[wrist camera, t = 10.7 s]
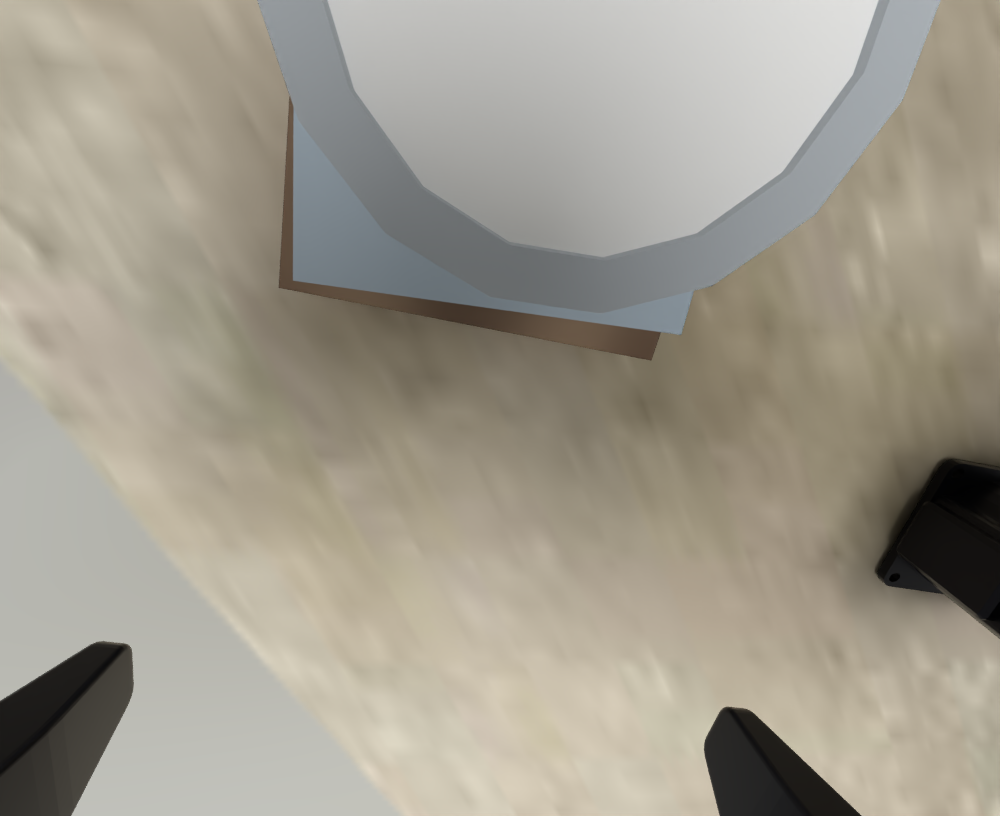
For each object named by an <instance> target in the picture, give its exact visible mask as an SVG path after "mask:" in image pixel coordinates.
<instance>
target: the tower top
mask: <svg viewBox="0 0 1000 816" xmlns="http://www.w3.org/2000/svg"><path fill="white" fill-rule="evenodd" d="M293 281H299V282H307V283H314V284H321V285H328V286H335V287H342V288H349V289H357V290H364V291H371V292H378V293H385V294H392V295H399V296H407V297H414V298H421V299H428V300H435V301H442V302H449V303H457V304H464V305H471V306H478V307H485V308H492V309H500V310H507V311H514V312H521V313H528V314H535V315H542V316H550V317H557V318H564V319H571V320H578V321H585V322H592V323H600V324H607V325H614V326H621V327H628V328H635V329H642V330H650V331H657V332H664V333H671V334H678V335H681V334H682V330H683V327H684V323H685V320H686V316H687V313H688V309H689V306H690V302H691V299H692V295H693V292H694V291H690V292H686V293H682V294H678V295H674V296H670V297H666V298H662V299H658V300H654V301H650V302H646V303H642V304H638V305H634V306H630V307H626V308H622V309H618V310H614V311H610V312H606V313H602V314H599V313H592V312H586V311H579V310H572V309H566V308H559V307H553V306H546V305H539V304H533V303H526V302H520V301H513V300H506V299H500V298H493V297H489V296H487V295H486V294H484V293H482V292H481V291H479V290H477V289H476V288H474V287H473V286H471V285H469V284H468V283H466V282H464V281H463V280H461V279H459V278H458V277H456V276H454V275H453V274H451V273H450V272H448V271H446V270H445V269H443V268H441V267H440V266H438V265H436V264H435V263H433V262H432V261H430V260H428V259H427V258H425V257H423V256H422V255H420V254H418V253H417V252H415V251H413V250H412V249H410V248H409V247H407V246H405V245H404V244H402V243H400V242H399V241H397V240H395V239H394V238H392V237H390V236H389V235H387V234H386V233H385V232H384V231H383V230H382V228H381V227H380V226H379V224H378V223H377V222H376V221H375V219H374V218H373V217H372V215H371V214H370V213H369V211H368V210H367V209H366V208H365V206H364V205H363V204H362V202H361V201H360V200H359V199H358V197H357V196H356V195H355V193H354V192H353V191H352V189H351V188H350V187H349V186H348V184H347V183H346V182H345V180H344V179H343V178H342V176H341V175H340V174H339V173H338V171H337V170H336V169H335V167H334V166H333V165H332V164H331V162H330V161H329V160H328V158H327V157H326V156H325V154H324V153H323V152H322V151H321V149H320V148H319V147H318V145H317V144H316V143H315V142H314V140H313V139H312V138H311V136H310V135H309V134H308V132H307V131H306V130H305V129H304V127H303V126H302V125H301V123H300V122H299V121H298V118H297V115H296V112H295V109H294V121H293Z"/></svg>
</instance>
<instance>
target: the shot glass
mask: <svg viewBox="0 0 1000 816" xmlns="http://www.w3.org/2000/svg"><path fill="white" fill-rule="evenodd" d="M257 1H258V4H259V6H260V9H261V12H262V15H263V18H264V21H265V24H266V27H267V30H268V33H269V36H270V39H271V42H272V45H273V48H274V51H275V53H276V56H277V59H278V62H279V65H280V68H281V71H282V74H283V77H284V80H285V83H286V86H287V89H288V92H289V95H290V98H291V100H292V103H293V106H294V109H295V112H296V115H297V118H298V121H299V122H300V123H301V125H302V126H303V127H304V129H305V130H306V131H307V132H308V134H309V135H310V136H311V138H312V139H313V140H314V142H315V143H316V144H317V145H318V147H319V148H320V149H321V151H322V152H323V153H324V154H325V156H326V157H327V158H328V160H329V161H330V162H331V164H332V165H333V166H334V167H335V169H336V170H337V171H338V173H339V174H340V175H341V176H342V178H343V179H344V180H345V182H346V183H347V184H348V186H349V187H350V188H351V189H352V191H353V192H354V193H355V195H356V196H357V197H358V199H359V200H360V201H361V202H362V204H363V205H364V206H365V208H366V209H367V210H368V211H369V213H370V214H371V215H372V217H373V218H374V219H375V221H376V222H377V223H378V224H379V226H380V227H381V228H382V230H383V231H384V232H385V233H386V234H387V235H389V236H390V237H392V238H394V239H395V240H397V241H399V242H400V243H402V244H404V245H405V246H407V247H409V248H410V249H412V250H413V251H415V252H417V253H418V254H420V255H422V256H423V257H425V258H427V259H428V260H430V261H432V262H433V263H435V264H436V265H438V266H440V267H441V268H443V269H445V270H446V271H448V272H450V273H451V274H453V275H454V276H456V277H458V278H459V279H461V280H463V281H464V282H466V283H468V284H469V285H471V286H473V287H474V288H476V289H477V290H479V291H481V292H482V293H484V294H486V295H487V296H489V297H493V298H500V299H506V300H513V301H520V302H526V303H533V304H539V305H546V306H553V307H559V308H566V309H572V310H579V311H586V312H592V313H599V314H602V313H606V312H610V311H614V310H618V309H622V308H626V307H630V306H634V305H638V304H642V303H646V302H650V301H654V300H658V299H662V298H666V297H670V296H674V295H678V294H682V293H686V292H690V291H694V290H698V289H702V288H706V287H710V286H713V285H714V284H716V283H717V282H718V281H720V280H721V279H723V278H724V277H726V276H727V275H729V274H730V273H732V272H733V271H734V270H736V269H737V268H739V267H740V266H742V265H743V264H745V263H746V262H747V261H749V260H750V259H752V258H753V257H755V256H756V255H758V254H759V253H761V252H762V251H763V250H765V249H766V248H768V247H769V246H771V245H772V244H774V243H775V242H776V241H778V240H779V239H781V238H782V237H784V236H785V235H787V234H788V233H790V232H791V231H792V230H794V229H795V228H797V227H798V226H800V225H801V224H803V223H804V222H805V221H807V220H808V219H810V218H811V217H813V216H814V215H815V214H816V213H817V212H818V210H819V209H820V208H821V206H822V205H823V204H824V202H825V201H826V200H827V199H828V197H829V196H830V195H831V193H832V192H833V191H834V189H835V188H836V187H837V185H838V184H839V183H840V181H841V180H842V179H843V178H844V176H845V175H846V174H847V172H848V171H849V170H850V168H851V167H852V166H853V164H854V163H855V162H856V160H857V159H858V158H859V157H860V155H861V154H862V153H863V151H864V150H865V149H866V147H867V146H868V145H869V143H870V142H871V141H872V139H873V138H874V137H875V136H876V134H877V133H878V132H879V130H880V129H881V128H882V126H883V125H884V124H885V122H886V121H887V120H888V118H889V117H890V116H891V115H892V113H893V112H894V111H895V109H896V108H897V107H898V105H899V104H900V103H901V101H902V100H903V98H904V95H905V92H906V90H907V87H908V84H909V82H910V79H911V77H912V74H913V71H914V69H915V66H916V63H917V61H918V58H919V56H920V53H921V50H922V48H923V45H924V42H925V40H926V37H927V34H928V32H929V29H930V27H931V24H932V21H933V19H934V16H935V13H936V11H937V8H938V6H939V3H940V0H257Z"/></svg>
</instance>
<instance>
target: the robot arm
mask: <svg viewBox="0 0 1000 816" xmlns="http://www.w3.org/2000/svg"><path fill="white" fill-rule="evenodd" d="M877 575H878V578H879V579H880V580H881V581H882V582H883V583H885V584H886V585H888V586H892V587H899V588H906V589H913V590H920V591H927V592H934V593H941V594H945V595H946V596H947V597H949V598H950V599H951V600H952V601H954V602H955V603H956V604H957V605H958V606H960V607H961V608H962V609H963V610H965V611H966V612H967V613H968V614H970V615H971V616H972V617H973V618H975V619H976V620H977V621H978V622H979V623H981V624H982V625H983V626H984V627H986V628H987V629H988V630H989V631H991V632H992V633H993V634H994V635H996V636H997V637H998V638H999V639H1000V468H999V467H994V466H989V465H984V464H978V463H973V462H968V461H962V460H957V459H951V460H948V461H946V462H945V463H943V464H942V466H941V467H940V468H939V470H938V471H937V473H936V475H935V476H934V478H933V480H932V482H931V483H930V485H929V487H928V488H927V490H926V492H925V493H924V495H923V497H922V498H921V500H920V502H919V503H918V505H917V507H916V508H915V510H914V512H913V513H912V515H911V517H910V518H909V520H908V522H907V523H906V525H905V527H904V528H903V530H902V532H901V534H900V535H899V537H898V539H897V540H896V542H895V544H894V545H893V547H892V549H891V550H890V552H889V554H888V555H887V557H886V559H885V560H884V562H883V564H882V565H881V567H880V569H879V571H878V573H877ZM133 685H134V682H133V662H132V649H131V647H130V646H129V645H128V644H124V643H114V642H105V641H102V642H96V643H94V644H91V645H90V646H88V647H86V648H84V649H83V650H81V651H80V652H78V653H76V654H75V655H73V656H72V657H70V658H68V659H67V660H65V661H63V662H62V663H60V664H59V665H57V666H56V667H54V668H52V669H51V670H49V671H47V672H46V673H44V674H43V675H41V676H39V677H38V678H36V679H35V680H33V681H31V682H30V683H28V684H27V685H25V686H23V687H22V688H20V689H19V690H17V691H15V692H14V693H12V694H11V695H9V696H7V697H6V698H4V699H2V700H1V701H0V816H71V815H72V813H73V811H74V809H75V807H76V805H77V803H78V801H79V800H80V798H81V796H82V794H83V792H84V790H85V788H86V786H87V784H88V781H89V780H90V778H91V776H92V774H93V772H94V770H95V768H96V766H97V764H98V763H99V761H100V758H101V757H102V755H103V753H104V751H105V749H106V747H107V745H108V743H109V741H110V739H111V737H112V735H113V733H114V731H115V729H116V727H117V725H118V724H119V722H120V720H121V718H122V716H123V714H124V712H125V710H126V708H127V706H128V704H129V701H130V699H131V696H132V692H133ZM704 752H705V759H706V763H707V767H708V771H709V775H710V779H711V783H712V787H713V791H714V795H715V799H716V803H717V807H718V811H719V815H720V816H861V815H860V814H859V813H858V812H857V811H856V810H855V809H854V808H853V807H852V806H851V805H850V804H849V803H848V802H847V801H846V800H844V799H843V798H842V797H841V796H840V795H839V794H838V793H837V792H836V791H835V790H834V789H833V788H832V787H831V786H830V785H829V784H828V783H827V782H826V781H824V780H823V779H822V778H821V777H820V776H819V775H818V774H817V773H816V772H815V771H814V770H813V769H812V768H811V767H810V766H809V765H808V764H807V763H806V762H804V761H803V760H802V759H801V758H800V757H799V756H798V755H797V754H796V753H795V752H794V751H793V750H792V749H791V748H790V747H789V746H788V745H787V744H786V743H784V742H783V741H782V740H781V739H780V738H779V737H778V736H777V735H776V734H775V733H774V732H773V731H772V730H771V729H770V728H769V727H768V726H767V725H766V724H765V723H763V722H762V721H761V720H760V719H759V718H758V717H757V716H756V715H755V714H754V713H753V712H751V711H750V710H747V709H744V708H735V707H725V708H723V709H722V710H721V711H720V712H719V714H718V716H717V718H716V720H715V722H714V724H713V725H712V727H711V729H710V731H709V733H708V735H707V737H706V739H705V744H704Z"/></svg>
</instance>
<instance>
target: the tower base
mask: <svg viewBox="0 0 1000 816" xmlns="http://www.w3.org/2000/svg"><path fill="white" fill-rule="evenodd" d="M293 121H294V106H293V103H292V100H291V98H290V97H289V115H288V133H287V151H286V169H285V187H284V205H283V223H282V241H281V259H280V277H279V288H283V289H288V290H294V291H299V292H304V293H309V294H314V295H319V296H324V297H329V298H334V299H340V300H345V301H350V302H355V303H360V304H365V305H370V306H375V307H380V308H386V309H391V310H396V311H401V312H406V313H411V314H416V315H421V316H426V317H432V318H437V319H442V320H447V321H452V322H457V323H462V324H467V325H472V326H477V327H483V328H488V329H493V330H498V331H503V332H508V333H513V334H518V335H523V336H529V337H534V338H539V339H544V340H549V341H554V342H559V343H564V344H569V345H575V346H580V347H585V348H590V349H595V350H600V351H605V352H610V353H615V354H621V355H626V356H631V357H636V358H641V359H646V360H652V357H653V354H654V351H655V348H656V345H657V342H658V339H659V336H660V333H661V332H657V331H650V330H642V329H635V328H628V327H621V326H614V325H607V324H600V323H592V322H585V321H578V320H571V319H564V318H557V317H550V316H542V315H535V314H528V313H521V312H514V311H507V310H500V309H492V308H485V307H478V306H471V305H464V304H457V303H449V302H442V301H435V300H428V299H421V298H414V297H407V296H399V295H392V294H385V293H378V292H371V291H364V290H357V289H349V288H342V287H335V286H328V285H321V284H314V283H307V282H299V281H293Z"/></svg>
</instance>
